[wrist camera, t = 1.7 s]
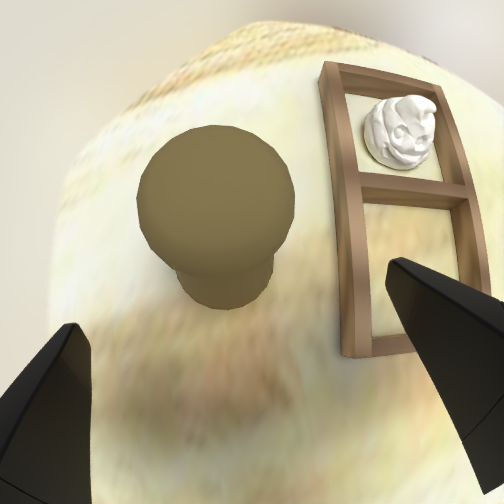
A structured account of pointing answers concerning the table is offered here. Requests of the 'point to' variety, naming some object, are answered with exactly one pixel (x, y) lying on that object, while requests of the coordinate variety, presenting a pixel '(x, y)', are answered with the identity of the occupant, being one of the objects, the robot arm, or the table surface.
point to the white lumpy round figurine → (400, 131)
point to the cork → (217, 212)
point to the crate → (392, 198)
